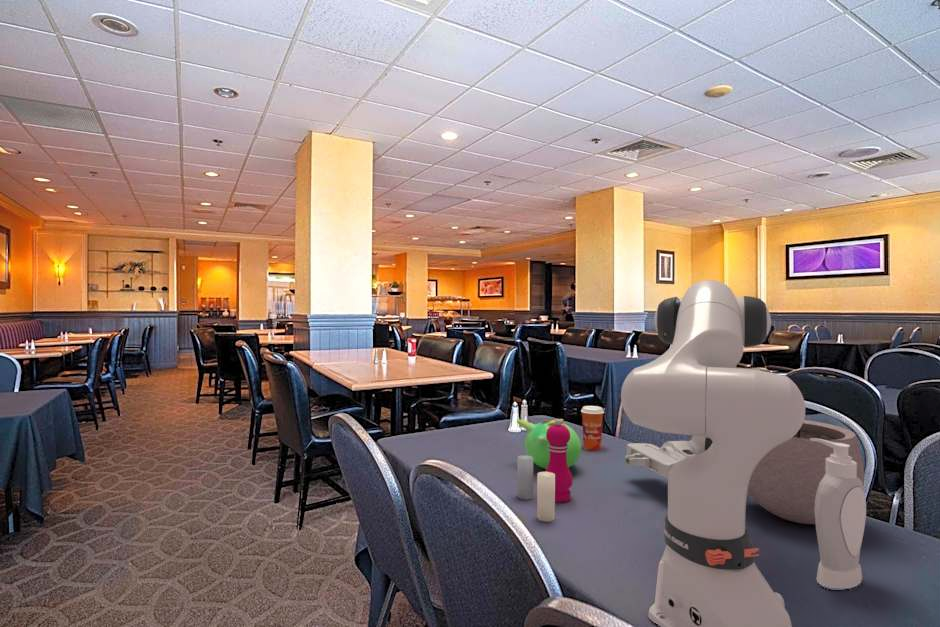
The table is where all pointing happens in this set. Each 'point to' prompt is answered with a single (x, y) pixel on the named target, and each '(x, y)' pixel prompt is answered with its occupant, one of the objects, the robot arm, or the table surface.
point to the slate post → (525, 477)
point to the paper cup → (592, 427)
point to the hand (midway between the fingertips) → (627, 460)
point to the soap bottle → (839, 519)
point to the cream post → (546, 496)
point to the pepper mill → (559, 460)
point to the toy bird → (539, 444)
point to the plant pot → (799, 471)
